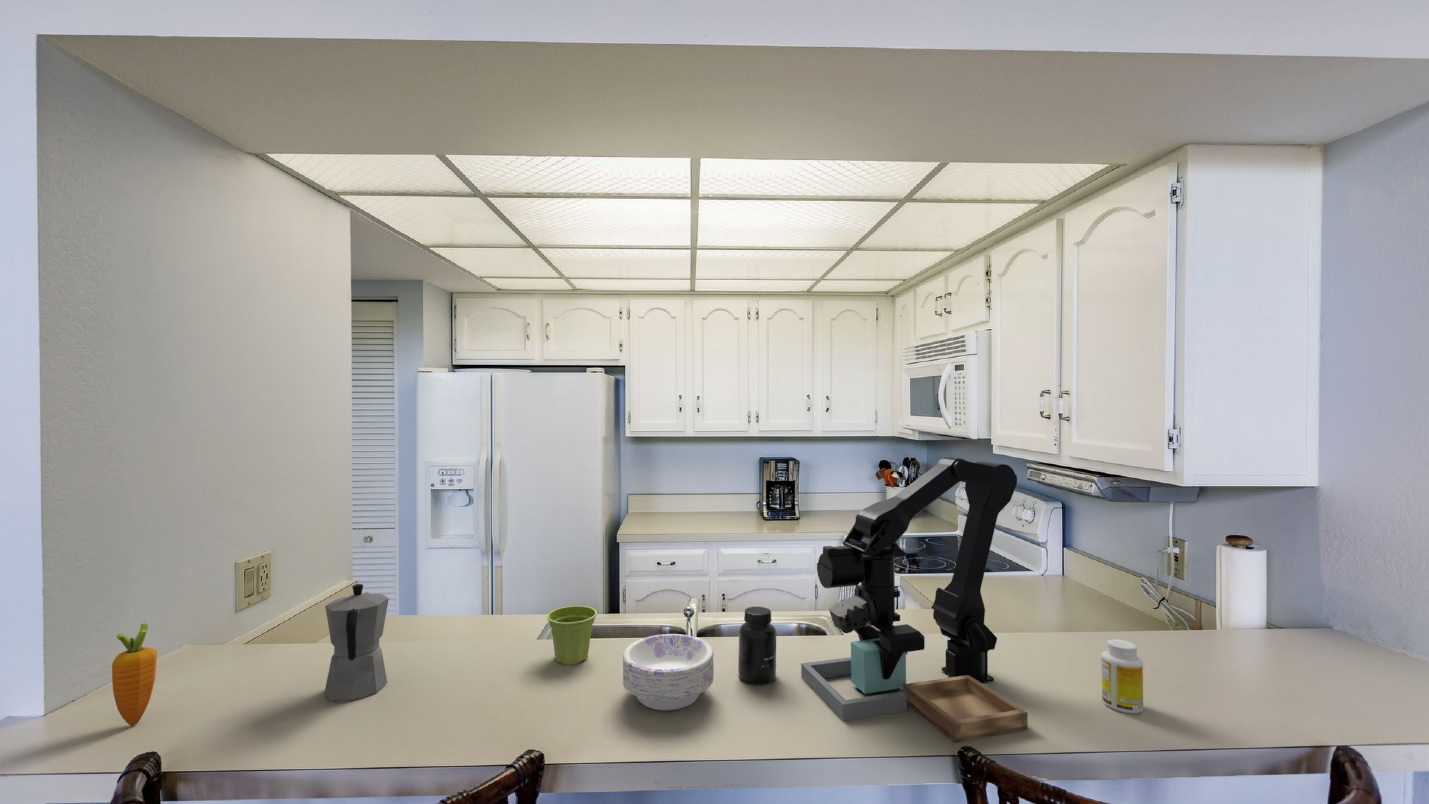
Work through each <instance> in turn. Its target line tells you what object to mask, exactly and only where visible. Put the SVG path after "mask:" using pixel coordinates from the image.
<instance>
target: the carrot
mask: <svg viewBox="0 0 1429 804" xmlns="http://www.w3.org/2000/svg"><path fill="white" fill-rule="evenodd" d="M148 627H149V624H148V623H146V622H142V623H141V624H140V628H139V631H138V633H137V636H136V637H135V638H134V637H130V638H129V637H127V635H126V634H124V633H118V634H117V635H116V638H117V639H118V640H119V641H120V642H121V643H122V645H123V646H124V648H126V650H125V651H122V652H120V653H119V654H118V655H117V656H116V657H115V658H114V659H113V661H112V665H111V675H112V677H111V679H112V680H111V681H112V693H113V697H114V702H115V705H116V708H117V711H118V713H119V715H120V716H121V718H122V719H123V720H124V721H125V722H126V723H127V725H129V726H131V725H135V726H136V725H137V724H138V723H139V722H140V720H141V719H142V717H143V715H144V713H145V711H146V709H147V707H148V705H149V702H150V701H151V697H152V694H153V693H152V692H153V690H154V685H155V680H156V672H157V655H158V653H157V650H156V649H155V648H153V647H146V646H143V643H144V640H145V637H146V636H147V632H148V629H149V628H148Z"/></svg>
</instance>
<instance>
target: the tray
mask: <svg viewBox="0 0 1429 804" xmlns="http://www.w3.org/2000/svg"><path fill="white" fill-rule="evenodd" d="M902 692H903V693H904V694H906V705H908V706H910V708H911V709H913V710H914V711H916V712H917V713H919V715H921V716H922V717H923V718H924V719H925V720H927V721H928V722H929V723H930V724H932V725H933V726H934V727H935V728H936V729H938V730H939V731H940V732H942V733H943V734H944V735H945V736H947V737H948V738H949V739H950V740H951V741H952V742H954V743H961V742H966V741H971V740H976V739H981V738H987V737H993V736H998V735H1005V734H1010V733H1016V732H1021V731H1027V730H1028V729H1029V728H1028V725H1029V724H1028V723H1029V721H1028V720H1029V715H1028V713H1029V712H1028V711H1026V709H1024V708H1021V707H1020V706H1018V704H1015V703H1014V702H1012V700H1009V699H1007V698H1005V697H1004V696H1002V695H1001V694H1000V693H998V692H996V691H995V690H993V689H991V688H990V687H989V686H987V685H985V683H980V682H979V681H977V680H976V679H974V678H972V677H971V676H969V675H964V676H957V677H951V676H949V677H946V678H937V679H932V680H924V681H916V682H910V683H906V684H903V688H902Z"/></svg>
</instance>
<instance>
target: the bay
mask: <svg viewBox="0 0 1429 804" xmlns="http://www.w3.org/2000/svg"><path fill="white" fill-rule="evenodd" d="M800 665H801V666H800V669H801V670H800V674H801V675H800V677H802V678H803V679H804V680H805V681H806V682H807V683H806V682H805V681H804V680H803V679H802V678H801V679H802V680H803V681H804V682H805V683H806V684H807V685H808V684H809V685H808V686H809V687H810V688H811V689H812V690H813V691H814V693H816V694H817V696H819V698H820V699H821V700H822V701H823V702H824V703H825V704H826V705H827V706H828V707H829V708H830V710H832V711H833V712H834V713H835V715H836V716H838V718H839V719H840V720H841V721H842V722H843V721H851V720H857V719H861V718H863V719H864V718H869V717H875V716H882V715H887V714H893V713H899V712H906V711H907V703H906V694H904V693H903V691H898V692H891V693H890V692H888V693H883V694H877V695H876V694H875V695H871V696H864V697H857V698H855V697H854V698H851V699H850V698H849V699H846V698H844V697H843V696H842V695H841V694H840V693H839V691H837V690H836V689H835V688H834V687H833V686H832V685H831V684H830V683H829V681H827V680H826V679H825V678H829V677H828V676H832V677H838V676H845V675H846V676H847V675H851V656H850V657H840V658H835V659H825V660H819V661H809V662H803V663H802V662H801V664H800ZM823 677H825V678H823Z"/></svg>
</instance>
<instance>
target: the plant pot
mask: <svg viewBox="0 0 1429 804" xmlns="http://www.w3.org/2000/svg"><path fill="white" fill-rule="evenodd" d="M597 615H598V611H597V610H596V608H593V607H591V606H586V605H569V606H565V607H563V606H562V607H558V608H555V609H553V610H551V611H550V612H549V613H547V615H546V619H547V621H548V622H549V627H550V628H551V634H552V640H553V641H552V643H553V649H554V650H553V652H554V657H555V661H556V662H557V663H561V664H562V665H566V666H568V665H577V664H580V663H581V662H582V661H586V660H587V659H588V657H589V651H590V643H591V636H592V630H593V626H594V623H595V619H596V617H597Z"/></svg>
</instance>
